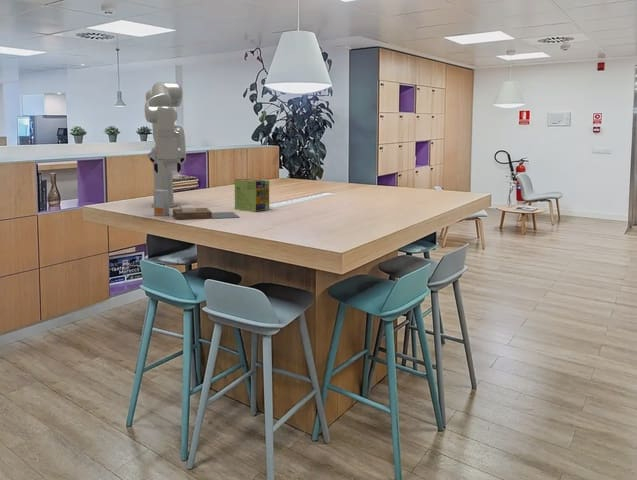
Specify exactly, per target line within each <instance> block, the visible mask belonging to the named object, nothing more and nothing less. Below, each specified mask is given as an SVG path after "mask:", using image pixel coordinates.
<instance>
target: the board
mask: <svg viewBox="0 0 637 480" xmlns="http://www.w3.org/2000/svg"><path fill="white" fill-rule="evenodd" d="M195 208H196V212H182V211H181V210H180V208H172V216H173V217H174V218H175V220H176V221H181V220H182V221H184V220H186V221H187V220H208V219H212V213H213V212H212V211H211V210H210V209H208V208H207V207H195ZM212 220H213V219H212Z"/></svg>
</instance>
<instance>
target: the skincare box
mask: <svg viewBox="0 0 637 480" xmlns="http://www.w3.org/2000/svg"><path fill="white" fill-rule="evenodd" d="M152 194H153V204H154V207H153V214H154V216H162V217H166V216H169V215H170V207H169V190H154V189H153V193H152Z"/></svg>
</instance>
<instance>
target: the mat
mask: <svg viewBox="0 0 637 480" xmlns="http://www.w3.org/2000/svg"><path fill="white" fill-rule="evenodd" d="M240 218H241V217H240V216H239V215H238V214H236V213H235V212H233V211H220V212H218V211H216V212H212V220H215V219H240Z"/></svg>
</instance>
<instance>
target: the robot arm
mask: <svg viewBox="0 0 637 480" xmlns="http://www.w3.org/2000/svg"><path fill="white" fill-rule="evenodd" d="M182 101H183V89H182V86H181V84H179V83H177V82H166V81H165V82H163V81H162V82H160V81H159V82H156V83H154V84H153V85H152V87H151V90H148V91H146V93H145V104H144V117H145V120H146V121H147V122H148V123H149V124H150V123H151V125H152V127H151V128H152V137H153V141H154V146H153V147H152V148H151V150H150V152H148V153H147V154H146V156H147V157H148V159H149V160H150V162H151V163H152V167H153V168H152V169H153V170H152V171H153V182H154V183H153V184H154V185H153V186H154V188H153V190H169V208H175V207H177V206H178V205H177V204H178V203H175V201H174V181H173V180H174V175H173V171H172V170H171V168H170V167H169V165H176V172H177V173H180V171H182V168H181V167H182V164H185V162H186V160H187V151H186V149H187V148H186V137H185V131H184V128H183V127H182V126H180V125H175V122H176V121H177V120H178V110H176V109H175V108H178V107H180V106H181V103H182ZM151 206H152V207H153V208H154V203H152V204H151Z"/></svg>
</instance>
